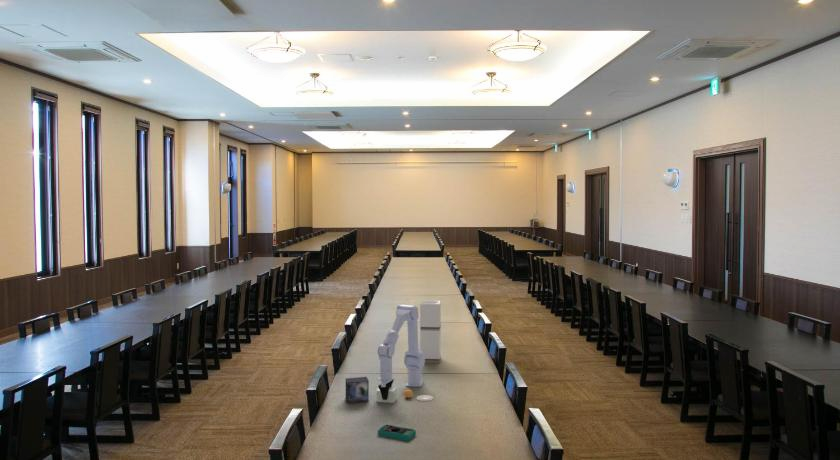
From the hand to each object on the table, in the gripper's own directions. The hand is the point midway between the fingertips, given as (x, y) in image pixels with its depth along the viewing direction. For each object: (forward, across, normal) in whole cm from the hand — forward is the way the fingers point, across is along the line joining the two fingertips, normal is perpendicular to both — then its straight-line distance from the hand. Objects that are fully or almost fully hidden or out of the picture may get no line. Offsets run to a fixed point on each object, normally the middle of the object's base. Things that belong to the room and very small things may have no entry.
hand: (386, 397), depth 275 cm
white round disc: (+2, -5, +18) cm, 19 cm away
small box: (+2, +2, -14) cm, 14 cm away
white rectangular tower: (+2, -71, +13) cm, 72 cm away
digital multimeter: (+2, +39, +12) cm, 41 cm away
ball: (0, -5, +10) cm, 11 cm away
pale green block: (+2, 0, 0) cm, 2 cm away
